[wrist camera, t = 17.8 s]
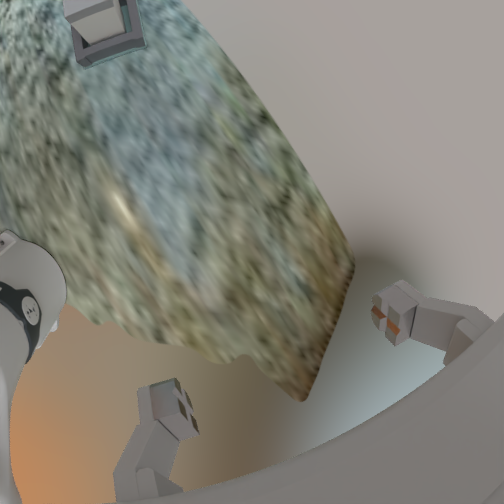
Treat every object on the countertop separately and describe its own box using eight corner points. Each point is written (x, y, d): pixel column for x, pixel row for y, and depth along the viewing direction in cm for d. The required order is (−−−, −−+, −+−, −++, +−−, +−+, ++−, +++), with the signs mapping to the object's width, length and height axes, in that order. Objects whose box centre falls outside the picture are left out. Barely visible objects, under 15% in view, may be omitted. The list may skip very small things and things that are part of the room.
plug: (95, 51, 28) (64, 17, 16) (91, 25, 27) (61, -16, 14) (128, 39, 29) (110, -2, 17) (123, 13, 27) (106, -34, 15)
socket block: (85, 69, 30) (75, 62, 25) (76, 19, 26) (67, 7, 22) (147, 47, 31) (144, 36, 27) (136, -3, 27) (134, -17, 23)
